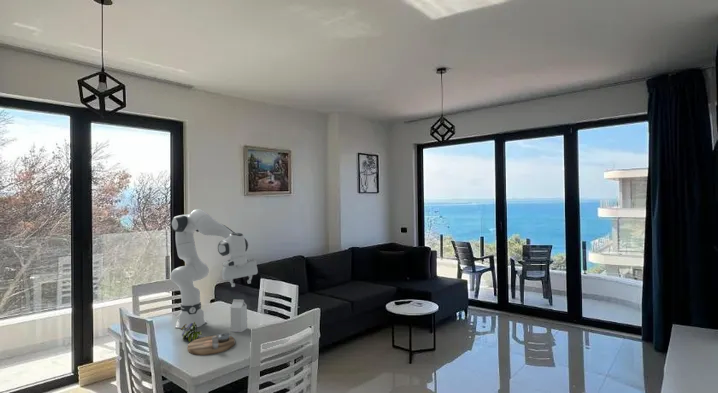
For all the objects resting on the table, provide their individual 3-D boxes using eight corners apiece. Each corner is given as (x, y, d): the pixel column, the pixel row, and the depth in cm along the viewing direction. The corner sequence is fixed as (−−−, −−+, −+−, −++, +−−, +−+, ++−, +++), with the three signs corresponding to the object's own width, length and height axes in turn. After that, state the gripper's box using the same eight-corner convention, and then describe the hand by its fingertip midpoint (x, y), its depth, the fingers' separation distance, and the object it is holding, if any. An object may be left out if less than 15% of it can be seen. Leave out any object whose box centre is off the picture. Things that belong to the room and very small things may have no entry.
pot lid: (214, 339, 224) (214, 334, 224) (227, 337, 228) (227, 331, 228) (217, 343, 218) (217, 337, 218) (230, 340, 222) (230, 335, 222)
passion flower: (184, 349, 233) (181, 329, 238) (204, 342, 237) (200, 323, 243) (182, 343, 224) (178, 323, 229) (202, 336, 228) (198, 317, 234)
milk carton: (241, 332, 242) (241, 301, 242) (230, 332, 244) (230, 300, 244) (247, 328, 249) (246, 298, 249) (236, 328, 251) (236, 297, 251)
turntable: (184, 344, 224) (184, 329, 224) (228, 335, 236) (228, 322, 236) (191, 358, 204) (191, 342, 203) (239, 348, 216) (239, 333, 216)
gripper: (253, 258, 240) (256, 281, 240) (219, 263, 227) (222, 288, 227) (258, 258, 235) (260, 282, 235) (223, 264, 222) (226, 289, 222)
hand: (241, 285), depth 231 cm, fingers open, 8 cm apart
